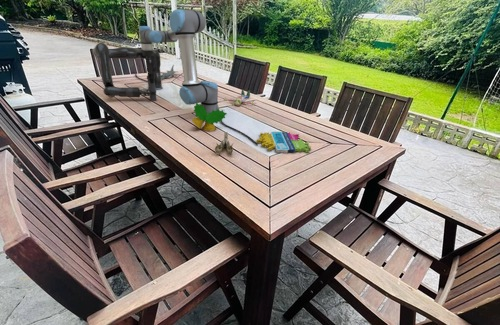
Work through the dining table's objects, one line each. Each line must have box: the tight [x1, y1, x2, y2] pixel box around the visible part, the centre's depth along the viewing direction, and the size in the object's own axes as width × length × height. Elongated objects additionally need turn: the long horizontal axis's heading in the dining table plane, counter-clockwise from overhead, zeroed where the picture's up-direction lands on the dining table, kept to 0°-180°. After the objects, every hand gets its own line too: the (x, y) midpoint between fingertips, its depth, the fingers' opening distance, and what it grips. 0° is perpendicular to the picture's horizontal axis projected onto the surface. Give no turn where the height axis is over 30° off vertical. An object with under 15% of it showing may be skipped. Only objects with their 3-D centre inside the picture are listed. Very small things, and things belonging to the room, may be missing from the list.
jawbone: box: [214, 131, 234, 156], centre depth 136 cm, size 9×15×10 cm
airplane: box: [160, 64, 183, 81], centre depth 280 cm, size 38×31×10 cm
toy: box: [223, 89, 257, 106], centre depth 219 cm, size 28×7×30 cm
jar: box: [147, 80, 157, 102], centre depth 204 cm, size 5×5×18 cm
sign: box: [255, 131, 312, 154], centre depth 152 cm, size 26×2×30 cm
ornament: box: [191, 102, 228, 132], centre depth 162 cm, size 21×8×15 cm, turn 105°
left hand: (155, 92), depth 206 cm, fingers closed on jar, 5 cm apart
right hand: (151, 82), depth 202 cm, fingers closed on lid, 5 cm apart
